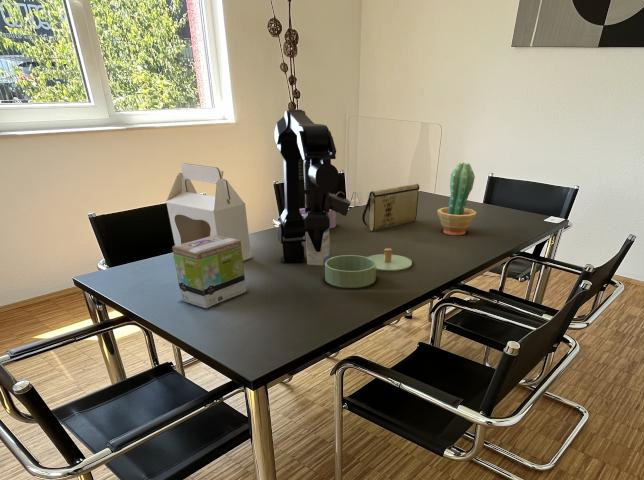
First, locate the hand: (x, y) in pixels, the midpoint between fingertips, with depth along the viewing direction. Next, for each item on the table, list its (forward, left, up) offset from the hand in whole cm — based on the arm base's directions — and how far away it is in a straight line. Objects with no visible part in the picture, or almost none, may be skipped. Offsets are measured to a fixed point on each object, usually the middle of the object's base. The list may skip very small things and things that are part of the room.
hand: (318, 246), depth 125 cm
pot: (+9, +10, -13) cm, 19 cm away
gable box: (-35, +34, -13) cm, 51 cm away
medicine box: (0, 0, -4) cm, 4 cm away
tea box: (-29, -2, -13) cm, 32 cm away
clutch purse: (+29, +75, -13) cm, 82 cm away
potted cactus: (+54, +64, -13) cm, 85 cm away
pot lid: (+22, +24, -12) cm, 35 cm away
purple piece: (-2, +70, -13) cm, 72 cm away
